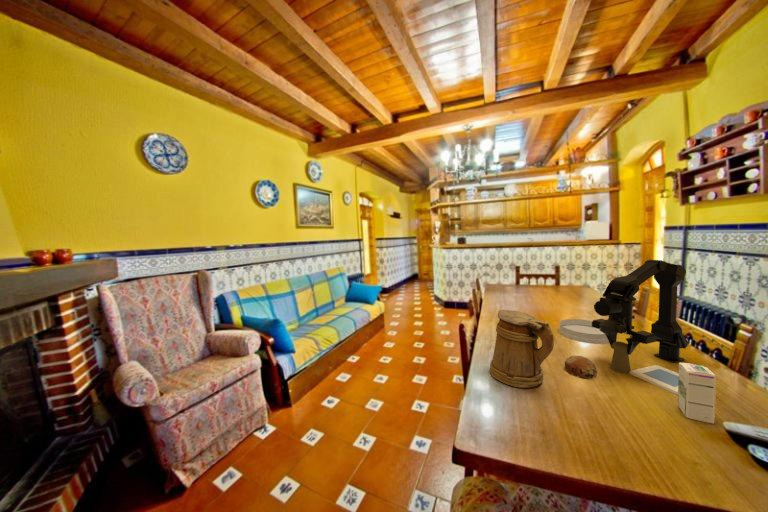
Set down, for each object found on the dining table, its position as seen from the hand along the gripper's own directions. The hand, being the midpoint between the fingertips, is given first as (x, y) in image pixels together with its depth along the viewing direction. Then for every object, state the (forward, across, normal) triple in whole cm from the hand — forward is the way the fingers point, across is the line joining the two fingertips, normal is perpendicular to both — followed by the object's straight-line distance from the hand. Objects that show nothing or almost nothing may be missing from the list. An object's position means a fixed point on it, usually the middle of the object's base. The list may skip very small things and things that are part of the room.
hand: (620, 351), depth 100 cm
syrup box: (+8, +24, -7) cm, 26 cm away
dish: (+8, -30, +20) cm, 36 cm away
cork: (+8, 0, 0) cm, 8 cm away
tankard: (+8, -8, -39) cm, 41 cm away
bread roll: (+8, -4, -15) cm, 17 cm away
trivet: (+8, +10, +7) cm, 14 cm away
